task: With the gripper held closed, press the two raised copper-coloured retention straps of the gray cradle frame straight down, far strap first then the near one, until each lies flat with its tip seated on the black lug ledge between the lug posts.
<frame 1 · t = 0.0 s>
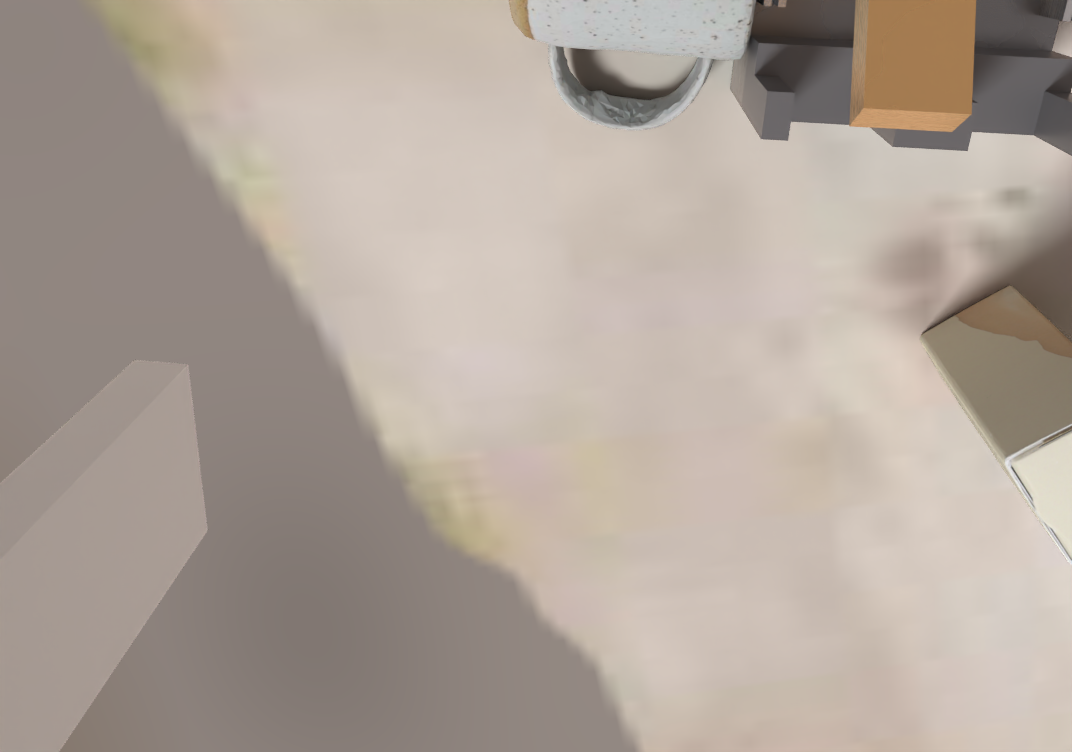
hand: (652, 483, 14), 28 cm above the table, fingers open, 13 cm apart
lug bar: (866, 63, 38), resting on gray cradle frame
box: (986, 350, 42), on the table
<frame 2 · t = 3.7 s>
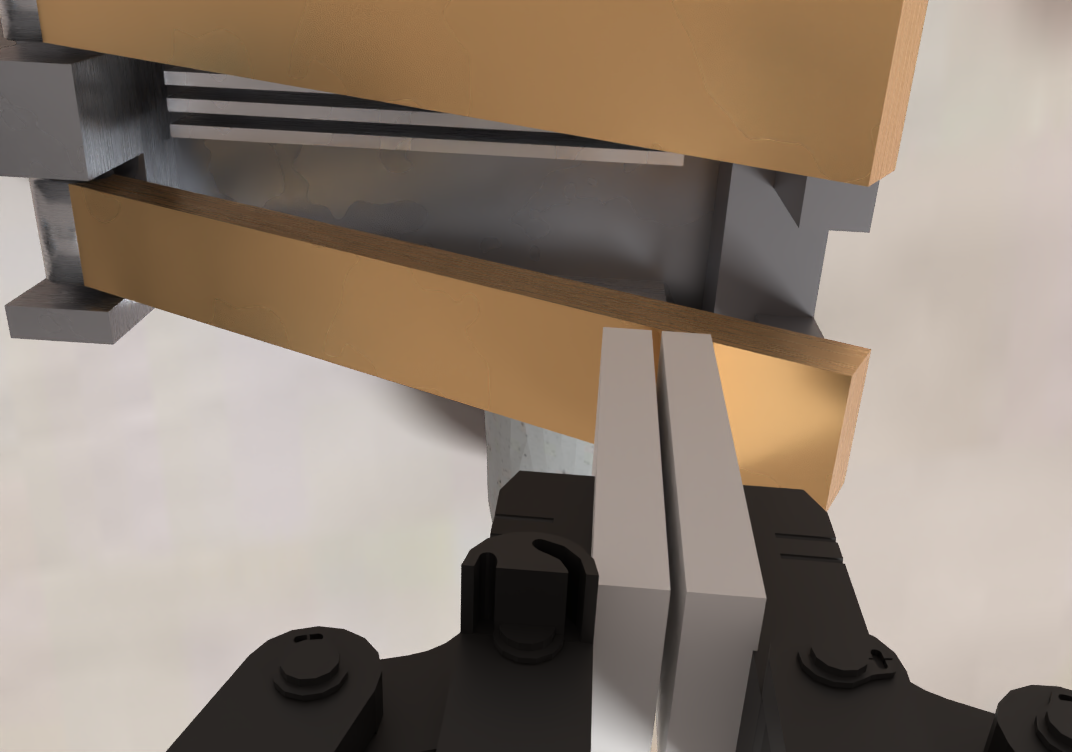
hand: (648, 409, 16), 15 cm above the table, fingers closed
gray cradle frame: (441, 78, 28), on the table
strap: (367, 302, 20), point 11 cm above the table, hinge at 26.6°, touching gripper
lug bar: (752, 95, 28), resting on gray cradle frame
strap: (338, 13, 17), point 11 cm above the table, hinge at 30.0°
ceramic mug: (655, 369, 32), on the table
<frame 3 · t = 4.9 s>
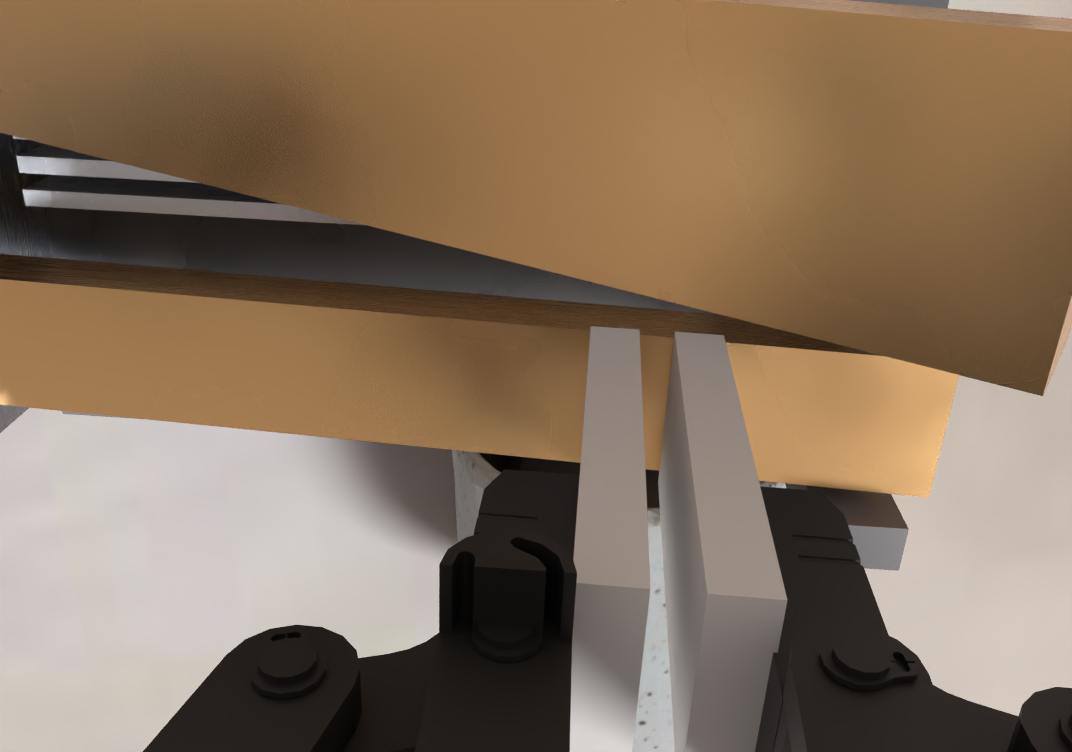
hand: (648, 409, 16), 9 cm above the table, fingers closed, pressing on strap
gray cradle frame: (390, 117, 23), on the table
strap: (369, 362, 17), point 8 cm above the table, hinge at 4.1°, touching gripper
lug bar: (774, 138, 23), resting on gray cradle frame
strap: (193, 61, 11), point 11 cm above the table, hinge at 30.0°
ceramic mug: (666, 462, 27), on the table
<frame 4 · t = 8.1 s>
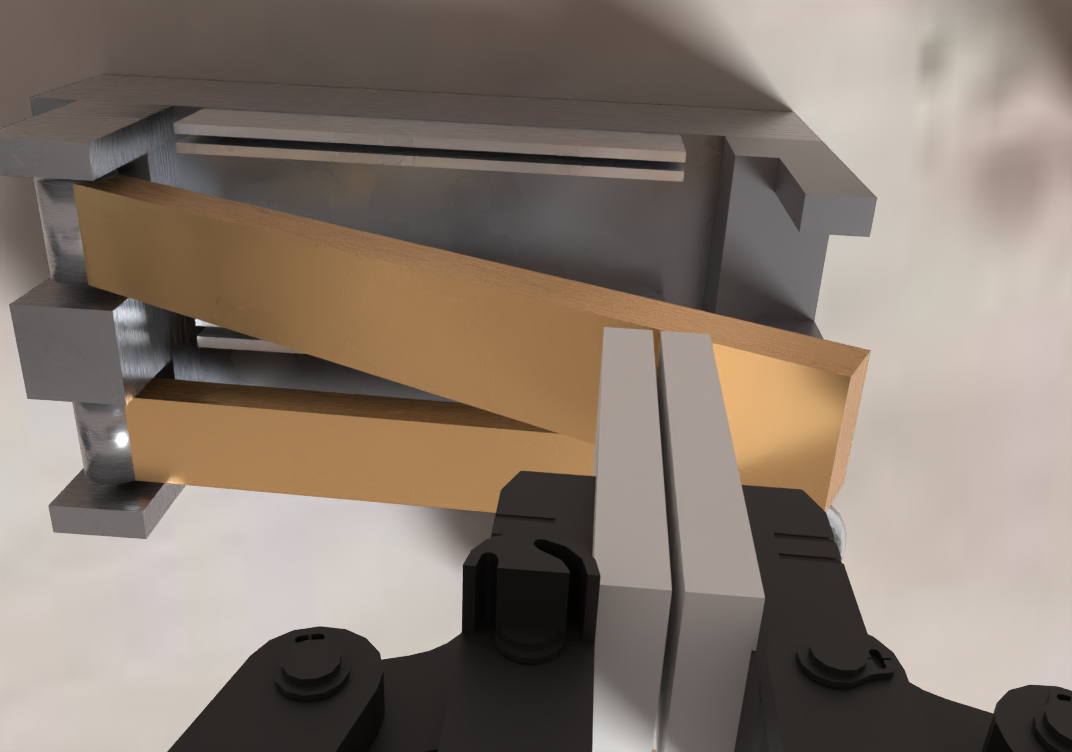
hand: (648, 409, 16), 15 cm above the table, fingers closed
gray cradle frame: (443, 259, 31), on the table
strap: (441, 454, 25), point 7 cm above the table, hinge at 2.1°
lug bar: (729, 276, 30), resting on gray cradle frame
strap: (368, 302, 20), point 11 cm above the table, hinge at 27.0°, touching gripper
ceramic mug: (673, 513, 34), on the table
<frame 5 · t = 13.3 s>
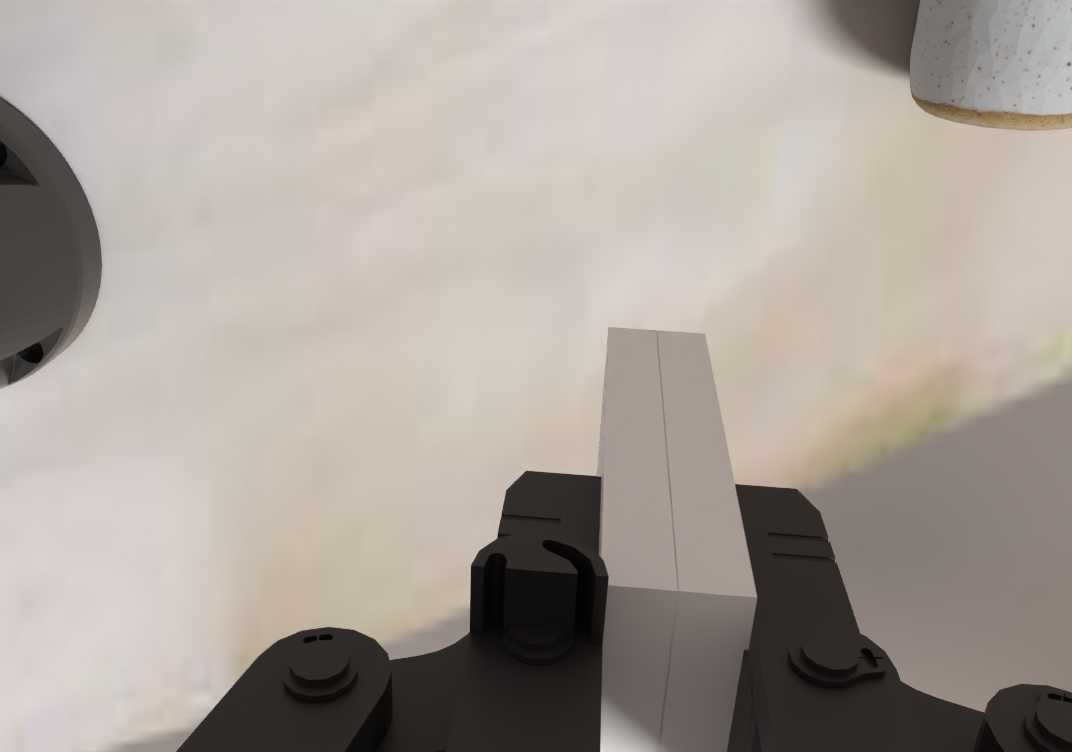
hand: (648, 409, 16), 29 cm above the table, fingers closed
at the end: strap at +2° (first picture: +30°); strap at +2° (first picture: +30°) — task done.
